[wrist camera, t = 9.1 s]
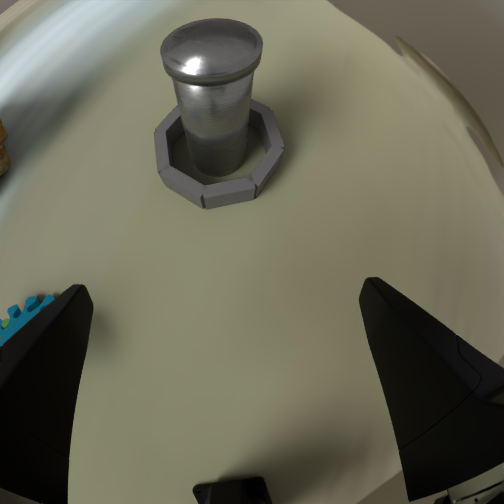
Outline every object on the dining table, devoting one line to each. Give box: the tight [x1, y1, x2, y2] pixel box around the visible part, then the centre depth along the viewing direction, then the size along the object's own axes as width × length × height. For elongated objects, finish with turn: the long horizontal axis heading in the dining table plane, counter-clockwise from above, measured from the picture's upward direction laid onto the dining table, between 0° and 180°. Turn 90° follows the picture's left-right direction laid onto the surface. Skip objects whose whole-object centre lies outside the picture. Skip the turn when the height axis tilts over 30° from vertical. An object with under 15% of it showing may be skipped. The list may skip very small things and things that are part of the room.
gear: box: [0, 295, 55, 346], centre depth 17 cm, size 11×6×10 cm
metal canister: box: [160, 18, 263, 177], centre depth 18 cm, size 5×5×12 cm
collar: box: [154, 99, 285, 209], centre depth 23 cm, size 10×10×2 cm
